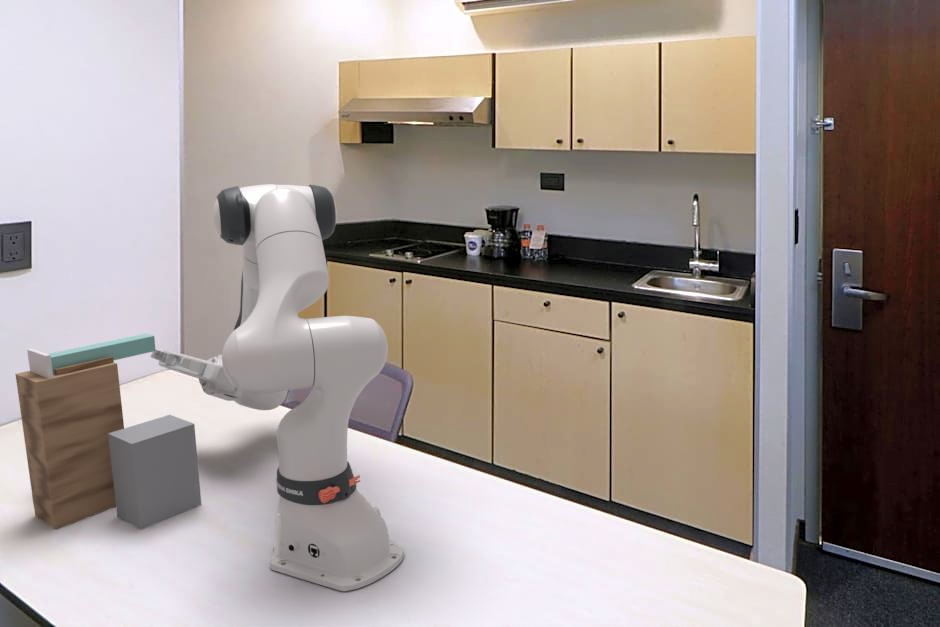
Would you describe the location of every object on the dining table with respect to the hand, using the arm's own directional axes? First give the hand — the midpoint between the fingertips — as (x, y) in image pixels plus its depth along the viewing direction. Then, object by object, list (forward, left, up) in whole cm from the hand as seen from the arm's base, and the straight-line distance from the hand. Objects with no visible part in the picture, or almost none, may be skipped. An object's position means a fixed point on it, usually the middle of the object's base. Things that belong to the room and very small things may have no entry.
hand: (166, 357), depth 149 cm
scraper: (0, +13, +2) cm, 13 cm away
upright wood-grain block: (0, +19, -25) cm, 31 cm away
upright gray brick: (-12, +11, -25) cm, 30 cm away
